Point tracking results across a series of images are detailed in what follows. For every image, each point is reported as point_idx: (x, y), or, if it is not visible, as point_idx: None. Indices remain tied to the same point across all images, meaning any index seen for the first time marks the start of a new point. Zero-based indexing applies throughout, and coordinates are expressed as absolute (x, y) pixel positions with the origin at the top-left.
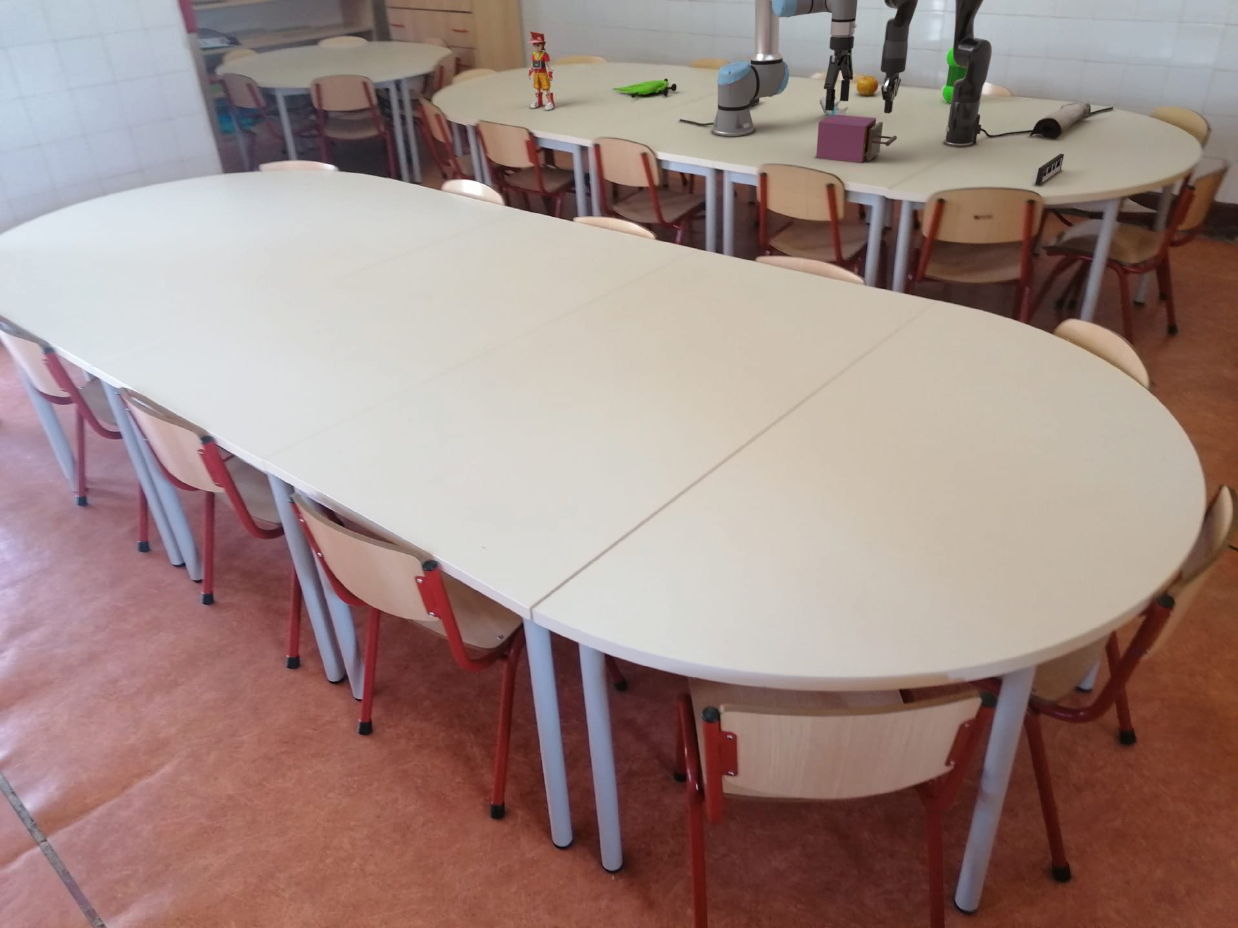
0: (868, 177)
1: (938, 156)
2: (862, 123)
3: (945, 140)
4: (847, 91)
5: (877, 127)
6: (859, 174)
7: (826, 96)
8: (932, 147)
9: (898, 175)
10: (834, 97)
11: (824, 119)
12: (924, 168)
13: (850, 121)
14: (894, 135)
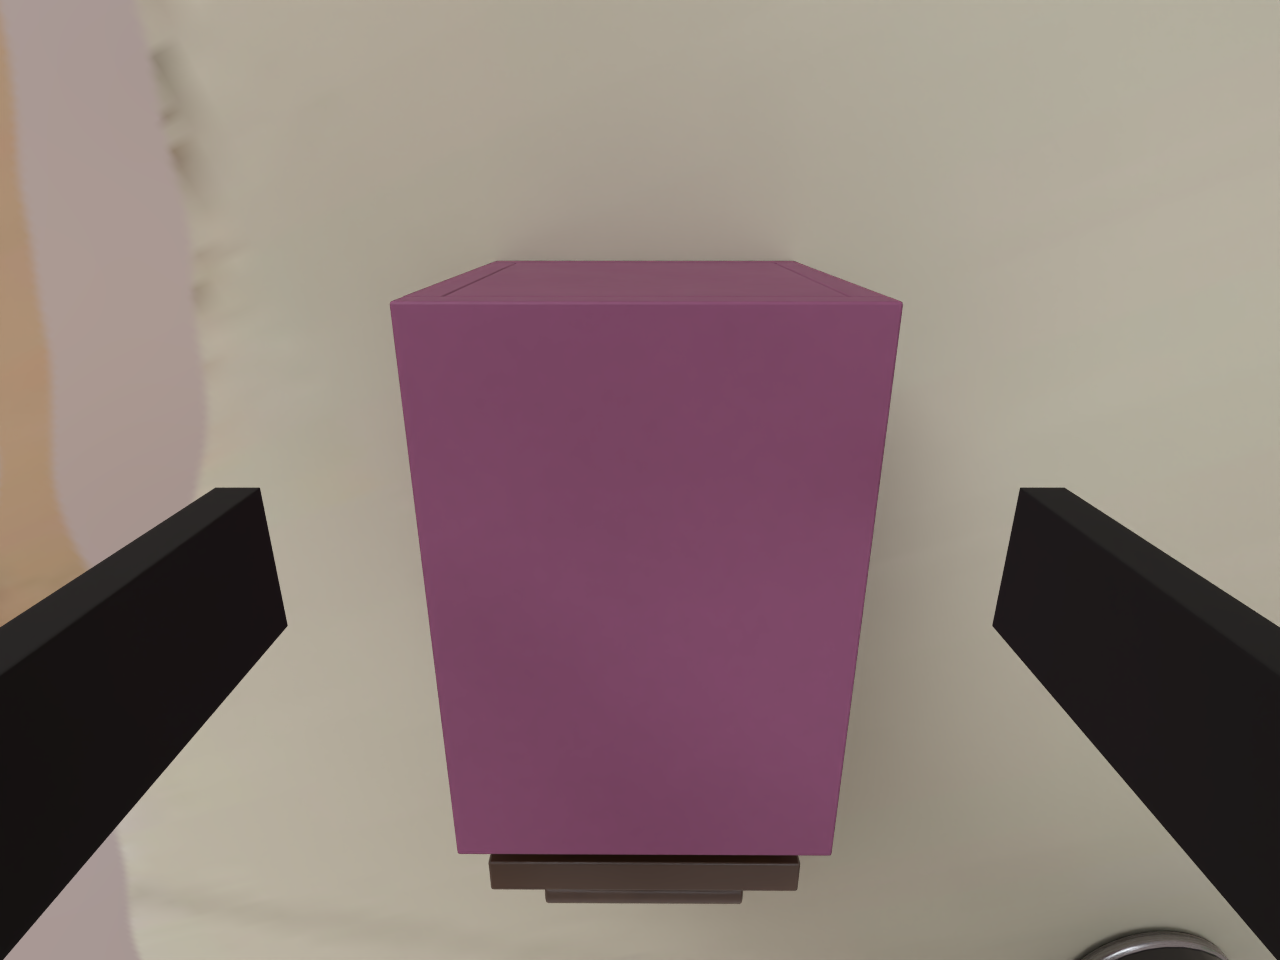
0: (245, 755)
1: (835, 956)
2: (555, 805)
3: (1138, 952)
4: (1109, 728)
5: (622, 883)
6: (270, 694)
7: (6, 636)
8: (1025, 895)
9: (378, 876)
10: (122, 795)
11: (559, 330)
12: (573, 948)
13: (591, 673)
14: (741, 896)
